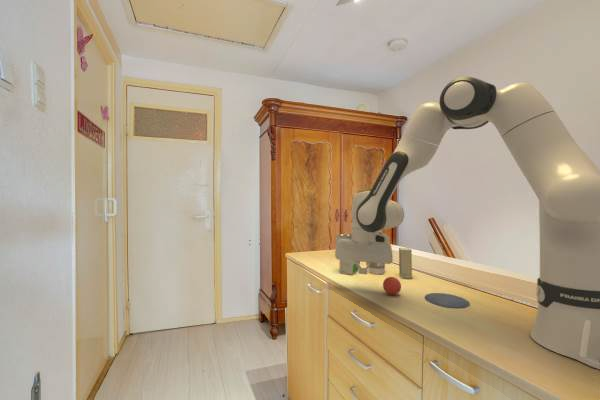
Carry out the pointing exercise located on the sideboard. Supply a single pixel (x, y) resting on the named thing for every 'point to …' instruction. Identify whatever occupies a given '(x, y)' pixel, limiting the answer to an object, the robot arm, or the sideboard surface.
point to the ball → (392, 285)
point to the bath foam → (377, 267)
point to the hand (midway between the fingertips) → (362, 273)
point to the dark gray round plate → (447, 300)
